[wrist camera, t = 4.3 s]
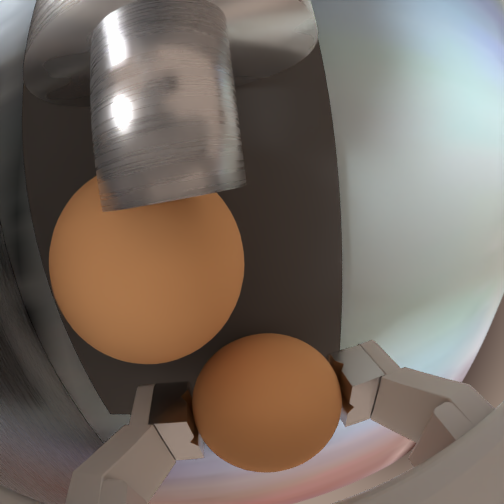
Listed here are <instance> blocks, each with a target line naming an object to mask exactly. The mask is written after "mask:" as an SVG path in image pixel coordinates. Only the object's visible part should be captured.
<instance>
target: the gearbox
mask: <svg viewBox="0 0 504 504" xmlns="http://www.w3.org/2000/svg"><path fill="white" fill-rule="evenodd" d="M102 445H103V442H102V441H101V440H100V439H99V437H98V436H97V435H96V433H95V432H94V431H93V429H92V428H91V427H90V425H89V424H88V423H87V421H86V420H85V418H84V417H83V416H82V414H81V413H80V411H79V410H78V408H77V407H76V405H75V404H74V402H73V401H72V399H71V398H70V396H69V394H68V393H67V391H66V390H65V388H64V386H63V385H62V383H61V381H60V379H59V378H58V376H57V374H56V372H55V371H54V369H53V367H52V365H51V363H50V361H49V359H48V358H47V356H46V354H45V352H44V350H43V348H42V345H41V343H40V341H39V339H38V337H37V335H36V333H35V330H34V328H33V326H32V323H31V321H30V319H29V316H28V314H27V311H26V309H25V306H24V304H23V301H22V298H21V295H20V293H19V290H18V287H17V284H16V281H15V278H14V274H13V271H12V268H11V264H10V261H9V257H8V254H7V250H6V246H5V242H4V237H3V233H2V228H1V223H0V484H1V485H3V486H5V487H7V488H9V489H11V490H13V491H15V492H18V493H20V494H22V495H25V496H27V497H30V498H32V499H35V500H37V501H40V502H43V503H45V504H65V503H66V498H67V494H68V490H69V486H70V482H71V478H72V474H73V471H74V470H75V469H77V468H78V467H79V466H80V465H81V464H82V463H83V462H85V461H86V460H87V459H88V458H89V457H90V456H91V455H92V454H93V453H95V452H96V451H97V450H98V449H99V448H100V447H101V446H102Z"/></svg>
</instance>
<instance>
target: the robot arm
mask: <svg viewBox="0 0 504 504" xmlns="http://www.w3.org/2000/svg"><path fill="white" fill-rule="evenodd" d="M326 360H327V361H328V362H329V364H330V365H331V366H332V368H333V370H334V372H335V374H336V376H337V378H338V381H339V384H340V388H341V394H342V409H341V415H340V419H341V420H342V422H343V424H344V426H345V427H347V426H350V425H353V424H356V423H359V422H361V421H364V420H367V419H370V418H371V420H373V421H375V422H377V423H379V424H381V425H382V426H384V427H386V428H388V429H390V430H392V431H394V432H396V433H398V434H400V435H402V436H404V437H406V438H408V439H410V440H412V441H414V442H416V443H417V444H416V446H415V447H414V449H413V451H412V453H411V454H410V456H409V460H410V462H411V464H412V465H413V468H412V469H410V470H408V471H406V472H404V473H402V474H401V475H399V476H397V477H395V478H393V479H391V480H389V481H387V482H384V483H382V484H380V485H378V486H376V487H374V488H371V489H369V490H367V491H364V492H362V493H360V494H357V495H354V496H352V497H349V498H346V499H344V500H341V501H338V502H335V503H332V504H504V401H503V402H502V403H501V404H500V405H499V406H498V407H497V408H496V409H495V408H494V407H493V406H492V405H490V404H489V403H488V402H487V401H486V400H485V399H484V398H483V397H482V396H481V395H480V394H479V393H478V392H477V391H476V390H475V389H474V388H473V387H472V386H470V385H469V384H465V383H461V382H457V381H453V380H449V379H445V378H442V377H438V376H434V375H431V374H427V373H424V372H420V371H417V370H413V369H410V368H406V367H404V368H400V367H399V366H398V365H397V364H396V363H395V362H394V361H393V360H392V359H391V358H390V356H389V355H388V354H387V353H386V352H385V351H384V350H383V349H382V348H381V347H380V346H379V345H378V344H377V343H376V342H375V341H373V340H370V341H367V342H364V343H361V344H358V345H356V346H352V347H349V348H346V349H343V350H339V351H336V352H333V353H329V354H327V356H326ZM192 398H193V388H192V385H191V383H190V382H189V381H184V382H171V383H156V384H140V385H139V386H138V388H137V391H136V395H135V399H134V404H133V408H132V413H131V418H130V422H129V425H124V426H123V427H122V428H121V429H120V430H118V431H117V432H116V433H115V434H114V435H113V436H112V437H111V438H110V439H109V440H108V441H107V442H105V443H104V444H103V445H102V446H101V447H100V448H99V449H98V450H97V451H96V452H95V453H93V454H92V455H91V456H90V457H89V458H88V459H87V460H86V461H85V462H83V463H82V464H81V465H80V466H79V467H78V468H77V469H75V470H74V471H73V474H72V478H71V482H70V486H69V490H68V494H67V498H66V503H65V504H149V503H148V502H149V501H150V500H151V498H152V497H153V495H154V494H155V492H156V491H157V490H158V488H159V487H160V485H161V484H162V482H163V481H164V479H165V478H166V476H167V475H168V473H169V472H170V470H171V469H172V467H173V466H174V464H175V463H176V461H175V460H186V459H197V458H204V442H203V439H202V437H201V435H200V434H199V432H198V430H197V427H196V424H195V421H194V417H193V409H192ZM0 504H45V503H43V502H40V501H37V500H35V499H32V498H30V497H27V496H25V495H22V494H20V493H18V492H15V491H13V490H11V489H9V488H7V487H5V486H3V485H1V484H0Z"/></svg>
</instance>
